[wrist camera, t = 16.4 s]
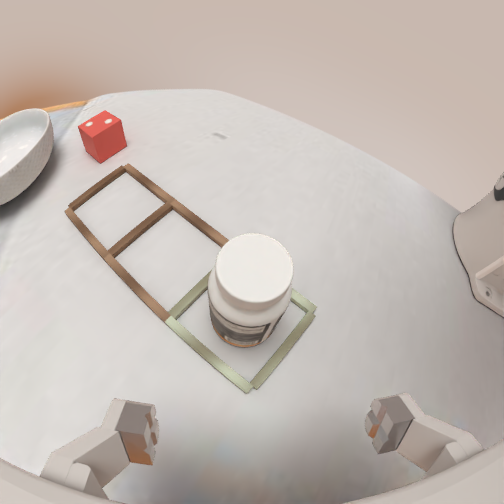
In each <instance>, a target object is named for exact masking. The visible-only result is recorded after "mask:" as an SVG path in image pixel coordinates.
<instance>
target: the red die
mask: <svg viewBox="0 0 504 504" xmlns="http://www.w3.org/2000/svg"><path fill="white" fill-rule="evenodd" d="M78 128H79V132H80V135H81V138H82V141H83V144H84V146H85V149H86V151H87V152H88V153H89V154H90V155H91V156H92V157H93V158H95V159H96V160H97V161H98V162H99V163H100V164H101V163H102V162H104V161H105V160H107V159H108V158H110V157H111V156H112V155H114V154H116V153H117V152H119V151H120V150H122V149H123V148H125V147H126V146H127V145H126V140H125V136H124V131H123V127H122V122H121V120H120V119H119V118H117V117H115V116H114V115H112V114H110V113H109V112H107V111H103V112H101V113H99V114H98V115H96V116H94V117H93V118H91V119H89V120H88V121H86V122H84V123H83V124H81V125H80V126H78Z"/></svg>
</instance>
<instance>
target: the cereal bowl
mask: <svg viewBox="0 0 504 504" xmlns="http://www.w3.org/2000/svg"><path fill="white" fill-rule="evenodd" d="M53 134H54V133H53V127H52V123H51V120H50V116H49V114H48V113H47V112H46V111H44V110H42V109H26V110H22V111H19V112H16V113H14V114H12V115H10V116H8V117H6V118H4V119H2V120H0V205H2V204H4V203H6V202H8V201H10V200H12V199H13V198H15V197H16V196H18V195H19V194H20V193H22V192H23V191H24V190H25V189H26V188H27V187H28V186H29V185H30V184H31V183H32V182H33V181H34V180H35V179H36V178H37V177H38V176H39V174H40V173H41V171H42V170H43V168H44V167H45V165H46V163H47V161H48V159H49V157H50V154H51V151H52V147H53V141H54V136H53Z"/></svg>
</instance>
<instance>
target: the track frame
mask: <svg viewBox="0 0 504 504" xmlns="http://www.w3.org/2000/svg"><path fill="white" fill-rule="evenodd" d="M125 172H127V173H129V174H130V175H131V176H132V177H133V178H135V179H136V180H137V181H138V182H140V183H141V184H142V185H143V186H145V187H146V188H147V189H148V190H150V191H151V192H152V193H153V194H155V195H156V196H157V197H159V198H160V199H161V200H162V201H164V202H165V204H164V205H163V206H161V207H160V208H159V209H158V210H156V211H155V212H154V213H152V214H151V215H150V216H149V217H147V218H146V219H145V220H144V221H142V222H141V223H140V224H139V225H138V226H136V227H135V228H134V229H133V230H131V231H130V232H129V233H128V234H127V235H125V236H124V237H123V238H122V239H121V240H120V241H118V242H117V243H116V244H115V245H114V246H113V247H111V248H110V249H109V250H108V251H107V250H106V249H105V248H104V246H103V245H102V244H101V243H100V242H99V241H98V240H97V239H96V237H95V236H94V235H93V234H92V233H91V232H90V231H89V229H88V228H87V227H86V226H85V225H84V224H83V222H82V221H81V220H80V219H79V218H78V217H77V215H76V214H75V213H74V212H73V211H74V210H76V209H77V208H78V207H79V206H81V205H82V204H83V203H84V202H86V201H87V200H88V199H89V198H91V197H92V196H93V195H95V194H96V193H97V192H99V191H100V190H101V189H103V188H104V187H105V186H107V185H108V184H109V183H111V182H112V181H113V180H115V179H116V178H118V177H119V176H120V175H122V174H123V173H125ZM68 206H69V208H68V209H67V210H65V213H66V215H67V216H68V217H69V218H70V220H71V221H72V222H73V223H74V225H75V226H76V227H77V228H78V230H79V231H80V232H81V233H82V234H83V236H84V237H85V238H86V239H87V240H88V242H89V243H90V244H91V245H92V246H93V247H94V249H95V250H96V251H97V252H98V253H99V254H100V255H101V257H102V258H103V259H104V260H105V261H106V262H107V263H108V265H109V266H110V267H111V268H112V269H113V270H114V271H115V272H116V273H117V274H118V276H119V277H120V278H121V279H122V280H123V281H124V282H125V283H126V284H127V285H128V286H129V287H130V288H131V289H132V290H133V291H134V292H135V294H136V295H137V296H138V297H139V298H140V299H141V300H142V301H143V302H144V303H145V304H146V305H147V306H148V307H149V308H150V309H151V310H152V311H153V312H154V313H155V314H156V315H157V316H158V317H159V318H160V319H161V320H162V321H164V322H165V323H166V324H167V325H168V326H169V327H170V328H171V329H172V330H173V331H174V332H175V333H176V334H177V335H178V336H179V337H180V338H182V339H183V340H184V341H185V342H186V343H187V344H188V345H189V346H190V347H191V348H193V349H194V350H195V351H196V352H197V353H198V354H199V355H200V356H202V357H203V358H204V359H205V360H206V361H207V362H208V363H210V364H211V365H212V366H213V367H214V368H215V369H217V370H218V371H219V372H220V373H221V374H223V375H224V376H225V377H226V378H227V379H229V380H230V381H231V382H232V383H234V384H235V385H236V386H237V387H239V388H240V389H241V390H242V391H244V392H245V393H246V394H247V393H248V392H249V391H250V390H251V388H252V387H254V388H255V389H256V390H257V389H258V388H259V387H260V385H261V384H262V383H263V382H264V381H265V380H266V378H267V377H268V376H269V375H270V374H271V372H272V371H273V370H274V369H275V367H276V366H277V365H278V364H279V363H280V361H281V360H282V359H283V358H284V356H285V355H286V354H287V353H288V351H289V350H290V349H291V348H292V346H293V345H294V344H295V342H296V341H297V340H298V339H299V337H300V336H301V335H302V333H303V332H304V331H305V329H306V328H307V327H308V325H309V324H310V323H311V321H312V320H313V319H314V317H315V315H314V314H313V312H314V310H315V309H316V308H317V307H316V306H315V305H314V304H313V303H311V302H310V301H309V300H307V299H306V298H305V297H303V296H302V295H301V294H299V293H298V292H297V291H295V290H294V289H293V288H292V295H291V299H290V300H291V301H292V302H293V303H295V304H296V305H297V306H299V307H300V308H301V309H303V310H304V311H305V312H307V313H306V315H305V316H304V317H303V319H302V320H301V321H300V323H299V324H298V325H297V326H296V328H295V329H294V330H293V331H292V333H291V334H290V335H289V336H288V338H287V339H286V340H285V341H284V343H283V344H282V345H281V346H280V348H279V349H278V350H277V351H276V353H275V354H274V355H273V356H272V357H271V359H270V360H269V361H268V362H267V363H266V365H265V366H264V367H263V368H262V369H261V370H260V372H259V373H258V374H257V375H256V376H255V378H254V379H253V380H252V381H251V382H250V383H249V382H248V381H246V380H245V379H244V378H243V377H241V376H240V375H239V374H238V373H236V372H235V371H234V370H233V369H231V368H230V367H229V366H228V365H227V364H225V363H224V362H223V361H222V360H221V359H219V358H218V357H217V356H216V355H215V354H214V353H212V352H211V351H210V350H209V349H208V348H207V347H205V346H204V345H203V344H202V343H201V342H200V341H199V340H197V339H196V338H195V337H194V336H193V335H192V334H191V333H190V332H189V331H187V330H186V329H185V328H184V327H183V326H182V325H181V324H180V323H179V322H178V321H177V320H176V319H177V318H178V317H179V316H180V315H181V314H182V313H183V312H184V311H185V310H186V309H187V308H188V307H189V306H190V305H191V304H192V303H193V302H194V301H195V300H196V299H197V298H198V297H199V296H200V295H201V294H202V293H203V292H204V291H205V290H206V289H207V286H208V279H209V276H210V273H211V271H212V270H211V271H210V272H209V273H208V274H207V275H206V276H205V277H204V278H203V279H202V280H201V281H200V282H199V283H198V284H196V285H195V286H194V287H193V288H192V289H191V290H190V291H189V292H188V293H187V294H186V295H185V296H184V297H183V298H182V299H181V300H180V301H179V302H178V303H177V304H176V305H175V306H174V307H173V308H172V309H171V310H170V311H169V312H167V311H166V310H165V309H164V308H163V307H162V306H161V305H160V304H159V303H158V302H157V301H156V300H155V299H154V298H152V297H151V296H150V295H149V294H148V293H147V292H146V291H145V290H144V289H143V288H142V287H141V286H140V285H139V284H138V283H137V281H136V280H135V279H134V278H133V277H132V276H131V275H130V274H129V273H128V272H127V271H126V270H125V269H124V268H123V267H122V266H121V265H120V264H119V263H118V262H117V261H116V260H115V257H116V256H117V255H118V254H119V253H121V252H122V251H123V250H124V249H125V248H126V247H127V246H129V245H130V244H131V243H132V242H133V241H134V240H136V239H137V238H138V237H139V236H140V235H142V234H143V233H144V232H145V231H146V230H148V229H149V228H150V227H151V226H152V225H154V224H155V223H156V222H157V221H159V220H160V219H161V218H162V217H164V216H165V215H166V214H167V213H169V212H170V211H171V210H172V209H174V210H175V211H176V212H177V213H179V214H180V215H181V216H182V217H184V218H185V219H186V220H188V221H189V222H190V223H191V224H193V225H194V226H195V227H196V228H198V229H199V230H200V231H202V232H203V233H204V234H205V235H207V236H208V237H209V238H210V239H212V240H213V241H214V242H216V243H217V244H218V245H219V246H221V247H223V246H224V245H225V244H226V243H227V242H228V241H229V240H228V239H227V238H225V237H224V236H223V235H221V234H220V233H219V232H218V231H216V230H215V229H214V228H212V227H211V226H210V225H208V224H207V223H206V222H204V221H203V220H202V219H200V218H199V217H198V216H197V215H195V214H194V213H193V212H191V211H190V210H189V209H187V208H186V207H185V206H183V205H182V204H181V203H180V202H178V201H177V200H176V199H174V198H173V197H172V196H170V195H169V194H168V193H166V192H165V191H164V190H163V189H161V188H160V187H159V186H157V185H156V184H155V183H153V182H152V181H151V180H149V179H148V178H147V177H146V176H144V175H143V174H142V173H140V172H139V171H138V170H136V169H135V168H134V167H133V166H131V165H130V164H129V163H128V164H127V165H125V166H124V167H123V166H120V167H119V168H117V169H116V170H114V171H113V172H112V173H110V174H109V175H107V176H106V177H105V178H103V179H102V180H100V181H99V182H98V183H96V184H95V185H94V186H92V187H91V188H90V189H88V190H87V191H86V192H84V193H83V194H82V195H81V196H79V197H78V198H77V199H75V200H74V201H73V202H72V203H70V204H69V205H68Z"/></svg>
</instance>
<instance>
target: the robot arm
mask: <svg viewBox="0 0 504 504" xmlns="http://www.w3.org/2000/svg"><path fill="white" fill-rule="evenodd" d="M453 234H454V240H455V245H456V248H457V251H458V254H459V256H460V258H461V260H462V263H463V264H464V266H465V268H466V270H467V272H468V275H469V278H470V282H471V287H472V291H473V294H474V296H475V298H476V299H477V300H478V301H480V302H481V303H483V304H484V305H486V306H487V307H489V308H490V309H492V310H493V311H495V312H496V313H498V314H499V315H501V316H502V317H504V172H503V174H502V175H501V176H500V178H499V179H498V181H497V183H496V185H495V186H494V189H493V190H492V191H491V192H490V193H489V194H488V195H487V196H486V197H484V198H483V199H482V200H481V201H480V202H478V203H477V204H476V205H474V206H473V207H471V208H470V209H468V210H467V211H465V212H463V213H461V214H459V215H458V216H457V217H456V219H455V222H454V226H453ZM370 407H371V409H372V410H371V411H370V412H369V413H368V414H367V416H366V419H365V429H366V432H367V434H368V436H370V437H372V438H373V442H372V444H373V446H374V448H375V450H376V452H377V454H382V453H386V452H390V451H394V450H396V451H397V452H398V453H399V454H401V455H402V456H404V457H405V458H407V459H408V460H410V461H411V462H413V463H414V464H416V465H417V466H419V467H420V468H422V469H423V470H425V471H426V472H427V473H426V474H425V475H424V476H423V478H422V479H421V480H420V481H417V482H414V483H412V484H409V485H406V486H403V487H400V488H397V489H394V490H391V491H388V492H384V493H381V494H378V495H374V496H370V497H367V498H363V499H359V500H355V501H350V502H346V503H341V504H504V439H502V440H501V441H499V442H497V443H496V444H494V445H492V446H491V447H489V448H487V449H485V450H484V449H483V447H482V446H481V445H480V444H479V442H478V441H477V440H476V439H475V438H474V436H473V435H472V434H471V433H469V432H467V431H464V430H462V429H460V428H457V427H455V426H452V425H450V424H448V423H445V422H443V421H441V420H438V419H436V418H434V417H432V416H429V415H428V416H426V415H425V414H424V413H423V412H422V410H421V409H420V408H419V406H418V405H417V404H416V402H415V401H414V400H413V399H412V397H411V396H410V395H409V394H408V393H402V394H398V395H393V396H388V397H383V398H378V399H374V400H373V401H372V403H371V406H370ZM155 414H156V409H155V405H153V404H147V403H140V402H134V401H127V400H121V399H116V398H115V399H114V400H112V402H111V404H110V407H109V409H108V411H107V414H106V416H105V418H104V420H103V423H102V425H101V427H96V428H94V429H92V430H91V431H89V432H87V433H86V434H84V435H82V436H80V437H79V438H77V439H75V440H73V441H72V442H70V443H68V444H66V445H65V446H63V447H61V448H59V449H57V450H56V451H54V452H52V453H51V454H50V456H49V458H48V460H47V462H46V464H45V466H44V468H43V470H42V472H41V475H40V477H39V476H37V475H34V474H32V473H30V472H27V471H25V470H23V469H21V468H19V467H17V466H15V465H13V464H11V463H9V462H7V461H5V460H3V459H1V458H0V504H126V503H121V502H117V501H112V500H109V499H108V497H107V496H106V494H105V492H104V491H103V489H102V488H103V487H104V486H105V485H106V484H107V483H109V482H110V481H111V480H112V479H113V478H114V477H115V476H117V475H118V474H119V473H120V472H121V471H122V470H123V469H124V468H126V467H127V466H128V465H129V464H130V462H132V463H139V464H147V465H153V461H154V457H155V448H154V445H155V444H157V442H158V436H159V425H158V420H157V419H156V418H155Z"/></svg>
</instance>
